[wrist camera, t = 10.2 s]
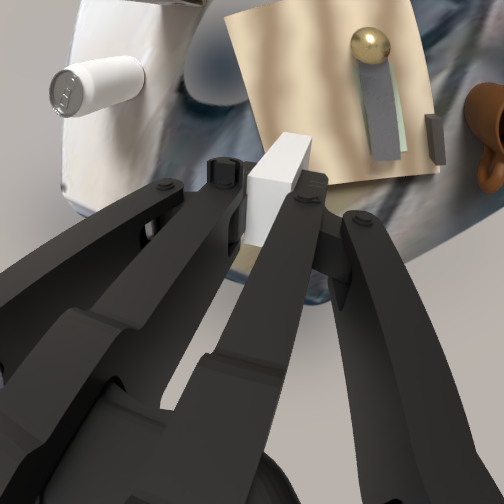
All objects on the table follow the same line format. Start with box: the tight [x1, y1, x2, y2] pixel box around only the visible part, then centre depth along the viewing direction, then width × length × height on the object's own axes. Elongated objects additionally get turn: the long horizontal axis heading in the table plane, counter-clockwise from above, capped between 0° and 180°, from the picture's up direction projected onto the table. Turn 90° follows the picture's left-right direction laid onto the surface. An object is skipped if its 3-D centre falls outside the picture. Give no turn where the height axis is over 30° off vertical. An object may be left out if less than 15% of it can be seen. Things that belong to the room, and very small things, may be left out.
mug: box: [464, 83, 504, 194], centre depth 25 cm, size 12×8×9 cm, turn 165°
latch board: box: [224, 0, 446, 185], centre depth 30 cm, size 20×22×5 cm
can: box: [49, 56, 144, 118], centre depth 32 cm, size 6×6×12 cm
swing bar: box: [350, 27, 401, 162], centre depth 28 cm, size 14×4×3 cm, turn 14°
